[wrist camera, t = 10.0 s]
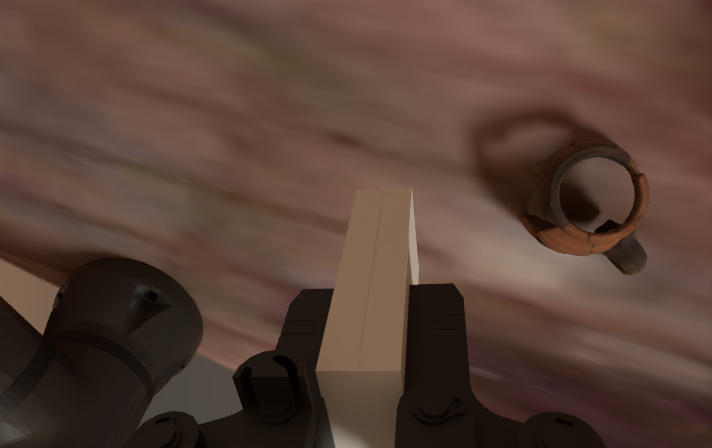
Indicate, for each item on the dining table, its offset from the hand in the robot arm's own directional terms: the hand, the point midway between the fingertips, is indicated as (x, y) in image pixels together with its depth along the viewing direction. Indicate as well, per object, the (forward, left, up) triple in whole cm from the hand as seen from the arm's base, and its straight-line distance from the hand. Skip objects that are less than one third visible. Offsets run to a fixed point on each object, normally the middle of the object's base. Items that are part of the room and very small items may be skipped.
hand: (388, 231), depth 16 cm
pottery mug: (+13, -16, -30) cm, 36 cm away
